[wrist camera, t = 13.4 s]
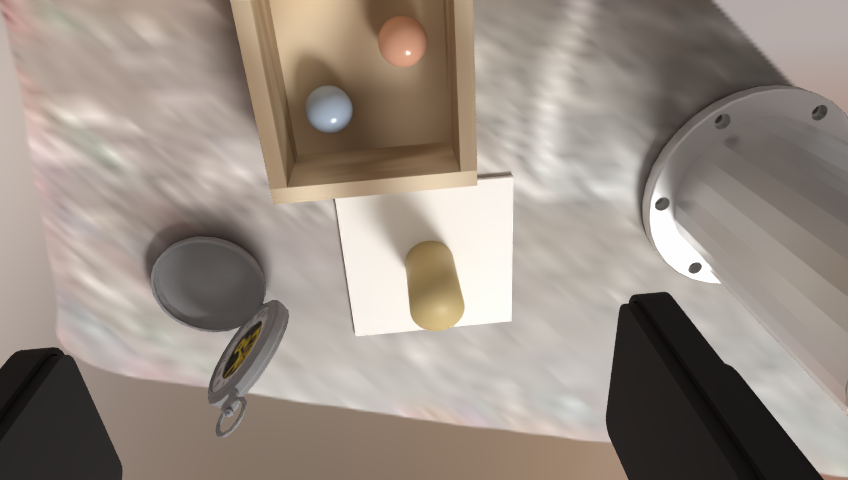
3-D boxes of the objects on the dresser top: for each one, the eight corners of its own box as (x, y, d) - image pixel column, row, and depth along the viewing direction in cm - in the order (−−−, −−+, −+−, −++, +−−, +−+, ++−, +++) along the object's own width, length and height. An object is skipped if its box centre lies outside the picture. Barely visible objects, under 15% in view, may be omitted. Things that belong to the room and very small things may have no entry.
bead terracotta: (423, 9, 29) (427, 17, 27) (426, 59, 30) (431, 70, 28) (375, 14, 29) (375, 21, 27) (380, 63, 30) (380, 74, 28)
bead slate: (350, 78, 30) (348, 90, 28) (356, 123, 31) (355, 137, 29) (304, 82, 30) (298, 94, 28) (311, 127, 31) (306, 142, 29)
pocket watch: (152, 226, 34) (75, 333, 25) (299, 240, 35) (274, 347, 26) (160, 337, 38) (96, 464, 29) (292, 347, 39) (269, 471, 30)
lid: (510, 171, 35) (534, 215, 29) (508, 313, 40) (528, 371, 35) (334, 187, 34) (328, 234, 29) (355, 328, 39) (353, 389, 34)
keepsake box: (456, -46, 28) (472, -39, 24) (463, 150, 33) (477, 185, 29) (248, -29, 28) (225, -20, 23) (286, 166, 33) (273, 204, 28)
